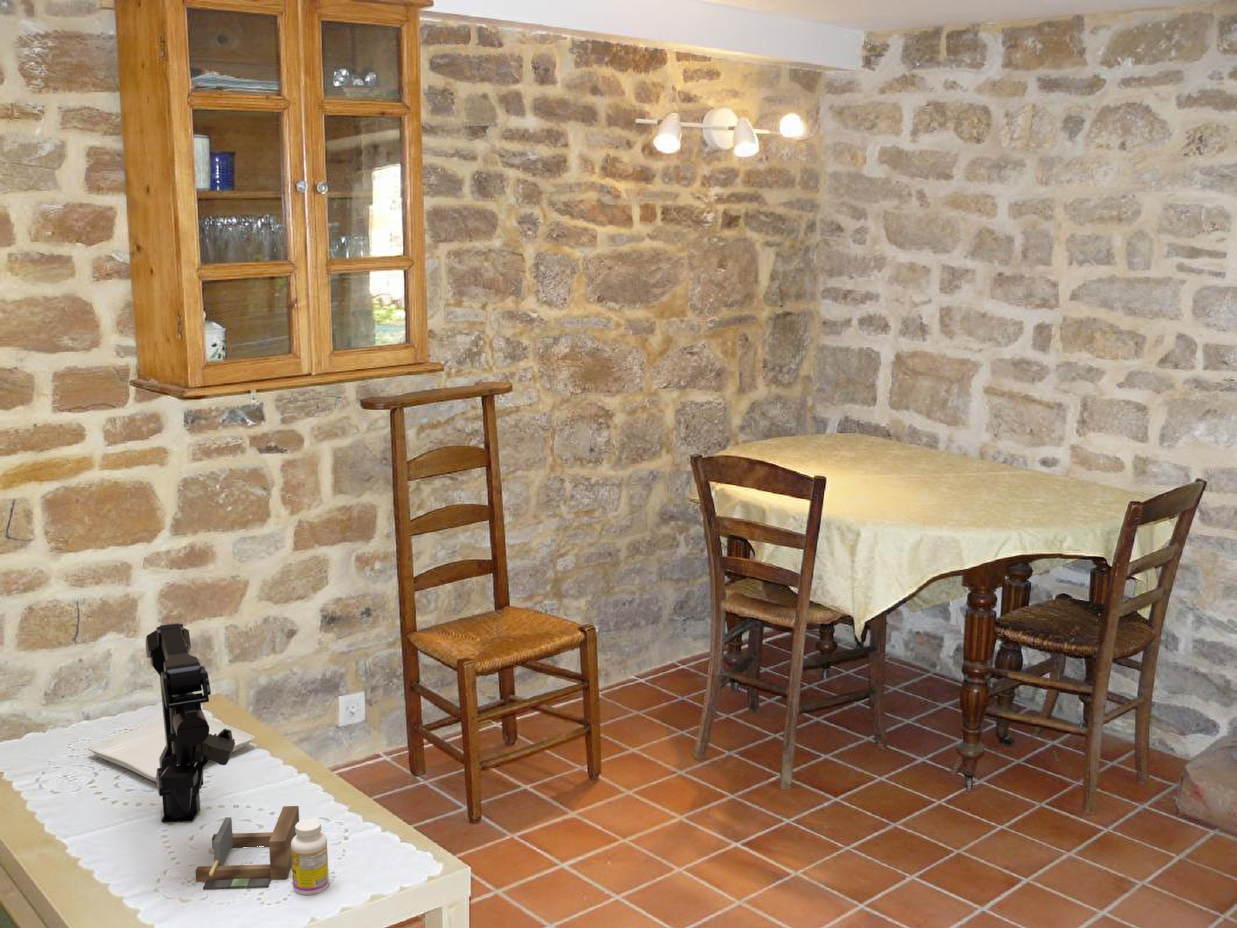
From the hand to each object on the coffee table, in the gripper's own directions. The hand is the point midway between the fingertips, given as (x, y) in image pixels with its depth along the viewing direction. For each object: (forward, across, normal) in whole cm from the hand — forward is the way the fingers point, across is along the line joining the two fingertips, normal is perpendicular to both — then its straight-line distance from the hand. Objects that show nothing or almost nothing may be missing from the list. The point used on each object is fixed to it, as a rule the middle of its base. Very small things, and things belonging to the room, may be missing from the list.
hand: (191, 801), depth 239 cm
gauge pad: (+12, -3, -5) cm, 13 cm away
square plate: (+14, +51, +18) cm, 56 cm away
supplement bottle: (+13, -10, -24) cm, 29 cm away
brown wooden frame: (+13, -2, -10) cm, 17 cm away
